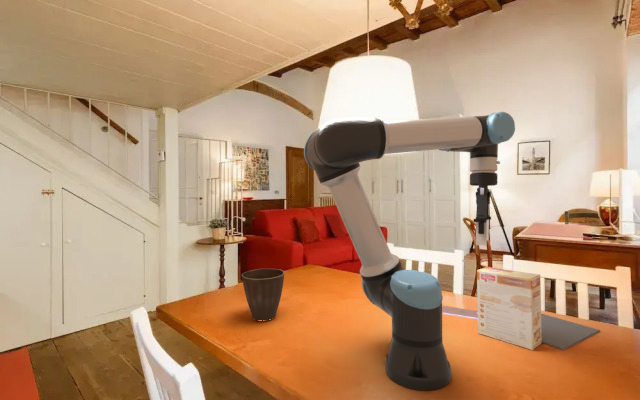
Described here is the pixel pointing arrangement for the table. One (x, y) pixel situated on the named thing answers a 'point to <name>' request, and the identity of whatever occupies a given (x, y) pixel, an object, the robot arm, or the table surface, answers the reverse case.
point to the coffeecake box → (509, 306)
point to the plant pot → (263, 291)
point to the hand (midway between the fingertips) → (482, 242)
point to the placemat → (563, 332)
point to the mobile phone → (460, 312)
